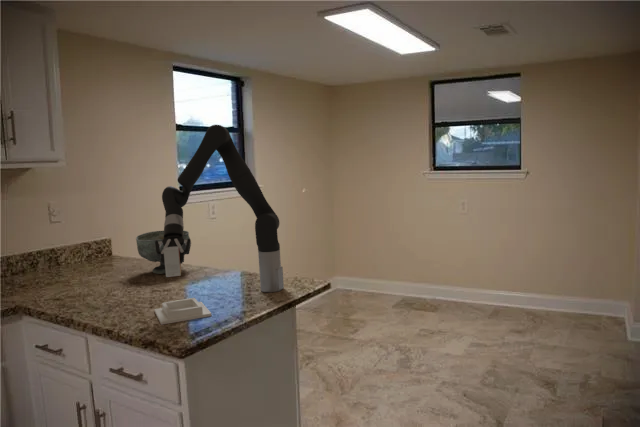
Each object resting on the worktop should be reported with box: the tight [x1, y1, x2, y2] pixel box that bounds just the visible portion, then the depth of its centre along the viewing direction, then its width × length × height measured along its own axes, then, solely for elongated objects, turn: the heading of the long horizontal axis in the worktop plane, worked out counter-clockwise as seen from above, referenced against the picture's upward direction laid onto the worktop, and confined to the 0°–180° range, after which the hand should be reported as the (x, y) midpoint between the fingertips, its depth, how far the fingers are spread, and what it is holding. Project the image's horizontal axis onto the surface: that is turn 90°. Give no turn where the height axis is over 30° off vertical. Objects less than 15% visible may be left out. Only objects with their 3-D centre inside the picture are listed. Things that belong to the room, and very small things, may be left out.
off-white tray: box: [153, 297, 212, 326], centre depth 199 cm, size 18×18×4 cm
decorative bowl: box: [135, 230, 191, 275], centre depth 274 cm, size 27×26×20 cm
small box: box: [164, 246, 182, 278], centre depth 205 cm, size 8×6×10 cm
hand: (172, 263), depth 204 cm, fingers closed on small box, 6 cm apart
